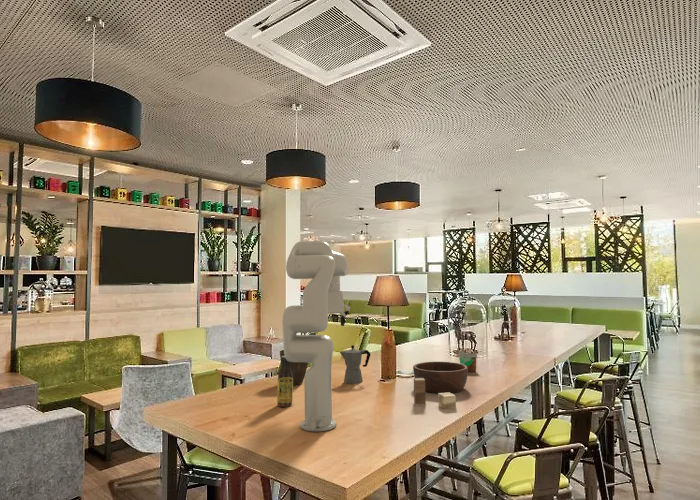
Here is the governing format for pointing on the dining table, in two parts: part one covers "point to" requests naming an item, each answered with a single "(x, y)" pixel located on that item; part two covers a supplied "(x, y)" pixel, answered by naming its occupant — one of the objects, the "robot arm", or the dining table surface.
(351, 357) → the coffeepot
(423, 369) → the wooden bowl
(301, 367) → the brown wooden cup
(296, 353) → the robot arm
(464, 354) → the food container
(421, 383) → the walnut block
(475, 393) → the dining table surface
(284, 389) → the sauce bottle
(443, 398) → the maple cube
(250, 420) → the dining table surface
